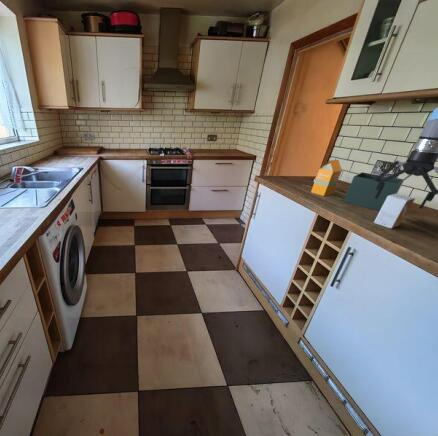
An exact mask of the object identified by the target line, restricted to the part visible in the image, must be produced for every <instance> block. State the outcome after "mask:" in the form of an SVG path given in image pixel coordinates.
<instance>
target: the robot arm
mask: <svg viewBox="0 0 438 436" xmlns="http://www.w3.org/2000/svg"><path fill="white" fill-rule="evenodd" d="M412 149H413V150H411V151H410V153H409V155H408V157H407V159H406V160H405V161H400V160H395V161H394V162H393V163H392V164H391V166H390V167H388V168H387V169H386V170H384V171H383V172H381V173H380V174H378V175H379V176H378V177H376V178H375V179H374V180H375V181H377V182H378V185H377V187H376V190H378V192H377V194H376V196H375V198H378V197H379V195H380V193H381V191H382V189H383V187H384V185H385V183H383V182H385V181H387V180H390V179H392V178H397V177H398V176H401V175H402V174H406V175H407V176H408V175H411V176H415V177H421V176H422V178H423V180H424V181H425V183H426V184H427V186H428V188H429V190H430V191H428V192H427V194H426V196H425V197H424V199H423V200H422V202H421V203H420V205H419V207H418V209H423V208H424V206H425V204H426V203H427V202H432V201H433V199H434V198H435V196H436V195H437V194H438V189H437V188H436V186H435V184H434V182H433V180H432V178H431V177H430V175H429V173H430V172H431V171H434V172H435V173H436V174H438V166H435V164H436V162H437V161H438V107H436V108H434V110H433V111H432V113H431V114H430V116H429V118H428V119H427V120H426V122H425V125H424V127H423V128H422V131H421V132H420V134H419V137H418V138H417V140H416V141H415V144H414V146H413V148H412ZM400 166H402V169H401V170H399V171H398V172H395V173H393V174H391V175H388V176H387V174H388V173H390V172H391V171H392V170H394V169H396V168H398V167H400ZM383 176H387V177H386V178H384V179H380V178H382V177H383Z"/></svg>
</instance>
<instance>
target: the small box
mask: <svg viewBox="0 0 438 436" xmlns="http://www.w3.org/2000/svg"><path fill="white" fill-rule="evenodd" d="M415 200H416V198H415V197H412V196H408V195H405V194H399V193H397V194H393V195H389V196H387V198H386V200H385V202H384V204H383V206H382V208H381V210H380V211H378V214H377V215H376V217H375V220H374V221H373V223H374V224H376V225H379V226H381V227H384V228H387V229H394V228H397V227H399V226H400V225H401V223H402V222H403V221H404V218H405V216H406V215H407V213H408V212H409V210H410V208H411V206H412V204H413V203H414V201H415Z"/></svg>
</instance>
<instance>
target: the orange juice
mask: <svg viewBox="0 0 438 436" xmlns="http://www.w3.org/2000/svg"><path fill="white" fill-rule="evenodd" d="M342 172H343V169H342V167H341V164H340V160H339V159H333V160H331V159H330V160H329V161H327V162H326V163H325V164H324V165H322V166H321V167H320V168H319V169H318V172H317V174H316V177H315V179H314V182H313V185H312V188H311V190H310V193H312V194H316V195H318V196H321V197H326V196H332V195H333V194H334V191H335V189H336V186H337V184H338V182H339V179H340V176H341V174H342Z"/></svg>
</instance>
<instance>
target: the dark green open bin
mask: <svg viewBox="0 0 438 436" xmlns="http://www.w3.org/2000/svg"><path fill="white" fill-rule="evenodd" d="M379 175H380V174H375V173H369V172H363V171H362V172H360V173H357V174H355V175H353V177H352V179H351V182H350V184H349V187H348V189H347V191H346V194H345V196H344V199H343V201H342V202H343V203H345V204H348V205H349V204H350V205H353V206H357V207H361V208H366V209H369V210H374V211H378V212H380V210H381V208H382V206H383V204H384V202H385V200H386V198H387V196H389V195H393V194H399V192H400V189H401V187H402V185H403V183H404V181H403V182H401V181H402V180H403V179H404V178H399V177H394V178H392V179H390V180H387V181H385V182H383V183H385V185H384V187H383V189H382V191H381V193H380V195H379V197H378V198H375V196H376V194H377V192H378V190H376V187H377V185H378V182H377V181H375V180H374V179H375V178H376V177H378V176H379ZM386 177H388V176H387V175H384V176H383V177H382V178H380V179H384V178H386ZM400 182H401V183H400Z"/></svg>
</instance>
